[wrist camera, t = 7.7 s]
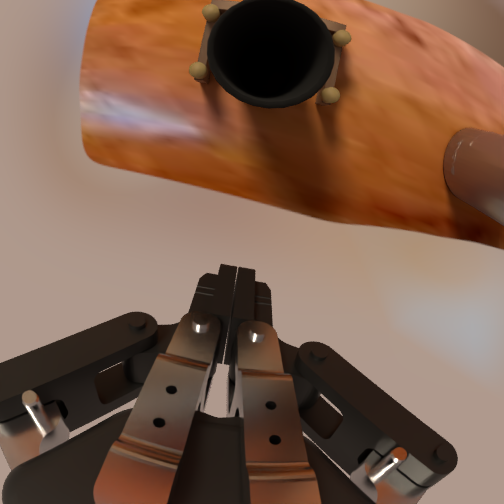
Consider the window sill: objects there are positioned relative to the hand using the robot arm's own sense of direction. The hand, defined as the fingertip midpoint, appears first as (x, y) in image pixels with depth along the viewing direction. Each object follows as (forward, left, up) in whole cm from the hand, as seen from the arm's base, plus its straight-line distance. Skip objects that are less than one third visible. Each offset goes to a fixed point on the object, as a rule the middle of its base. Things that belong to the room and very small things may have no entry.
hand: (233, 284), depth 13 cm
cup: (0, -11, -20) cm, 23 cm away
